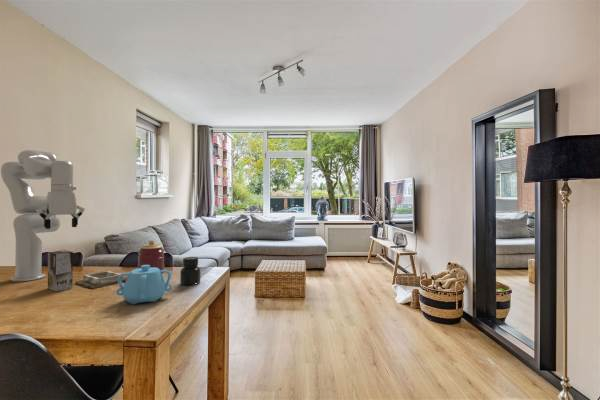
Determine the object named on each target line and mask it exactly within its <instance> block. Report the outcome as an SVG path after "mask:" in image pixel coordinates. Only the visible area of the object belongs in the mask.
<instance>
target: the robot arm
mask: <svg viewBox="0 0 600 400" xmlns="http://www.w3.org/2000/svg"><path fill="white" fill-rule="evenodd" d="M17 160H18V161H8V162H4V163H3V164H2V166H1V167H0V175H1V178H2V181H3V183H4V184H5V186H6V188H7V189H8V192H9V193H10V199H11V202H12V206H13V210H14V212H15V213H17V214H18V216H16V217H15V218H14V219H13V223H12V224H13V230H14V234H15V263H14V264H15V265H14V266H15V268H14V269H15V270H14V273H15V275H14V276H11V277H10V281H11V282H27V281H29V282H30V281H35V280H39V279H42V278H45V277H46V273H42V264H43V263H42V261H43V260H42V259H43V257H42V253H43V242H42V239H41V238H40V237H38V235H37V234H40V233H41V234H43V233H54V232H57V231H58V230H59V229H60V226H61V220H60V215H62V216H63V215H70V216H71V217H72V218H71V227H72V228H77V227H78V224H79V223H78V221H79V218H80V217H81V216H82V215H83V213H84V211H85V208H84V207H82V206H80V205H77V199H76V195H75V192H74V191H76V190H77V187H76V186H74V185H73V184H74V178H73V177H74V165H73V163H72V162H71V161H67V160H58V159H57V156H56V155H55V154H54V153H52V152H49V151H48V152H47V151H39V150H34V149H33V150H32V149H31V150H30V149H26V150H22V151H21V152H19V153H18V156H17ZM23 179H24V180H40V181H41V180H45V179H50V191H48V192H47V195H35V194H34V191H33V188H32V187H31V186H30V184H28V183H27V182H26V181H24V180H23ZM77 210H78V212H77Z"/></svg>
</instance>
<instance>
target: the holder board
mask: <svg viewBox="0 0 600 400" xmlns="http://www.w3.org/2000/svg"><path fill="white" fill-rule="evenodd" d="M121 274H122V273H118V272H114V271H109V270H104V271H99V272H95V273H94V272H93V273H88V274H83V279H82V280H77V281H76V280H75V284H76V285H79V286H82V287H85V288H88V289H92V290H95V289H98V288H104V287H107V286H113V285H117V284H118V277H119V276H120V275H121ZM127 278H128V277H124V276H122V277H121V282H122V283H125V282H126V280H127Z"/></svg>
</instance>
